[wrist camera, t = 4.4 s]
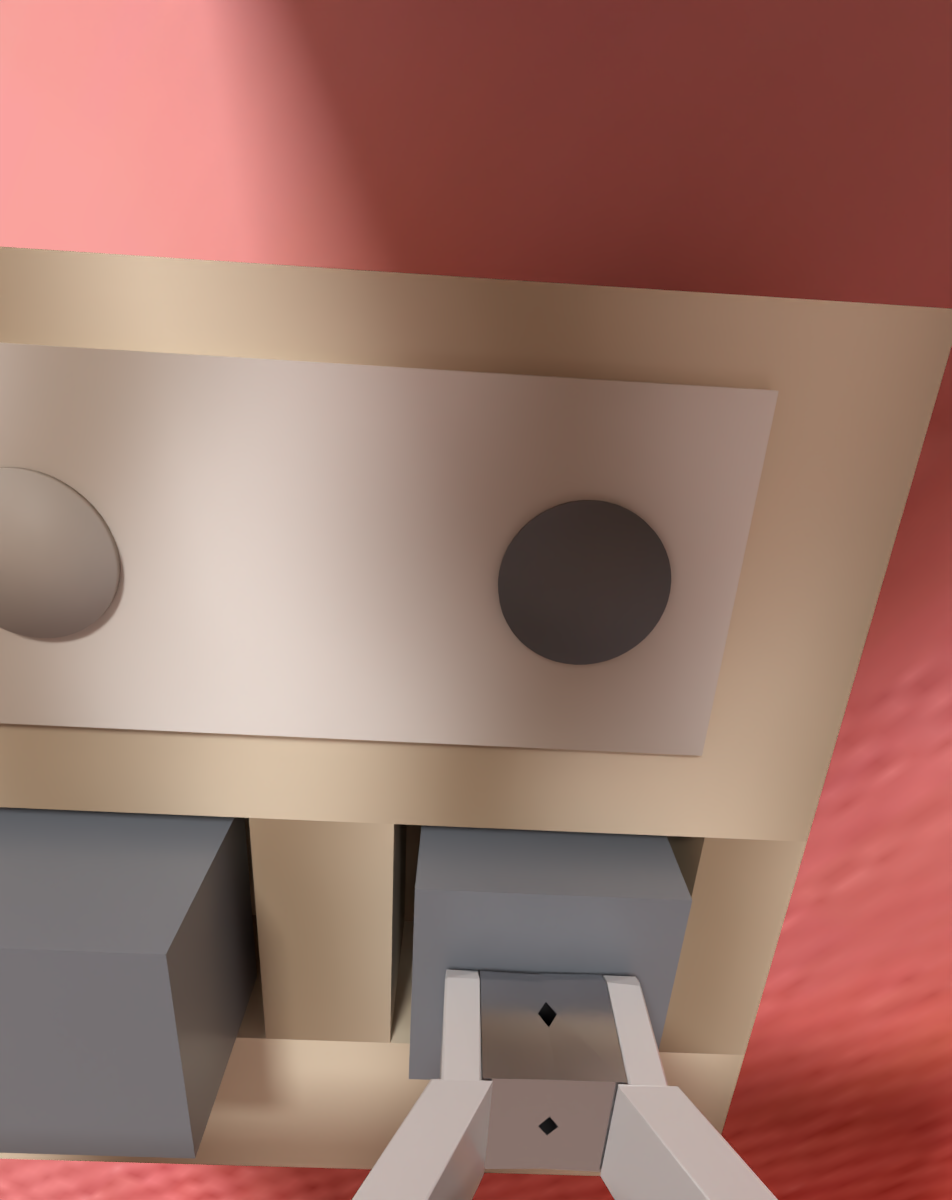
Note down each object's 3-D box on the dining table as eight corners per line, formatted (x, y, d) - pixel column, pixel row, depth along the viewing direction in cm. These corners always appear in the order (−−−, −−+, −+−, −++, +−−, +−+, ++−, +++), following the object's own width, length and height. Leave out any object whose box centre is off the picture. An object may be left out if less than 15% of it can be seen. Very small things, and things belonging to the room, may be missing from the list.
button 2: (642, 775, 12) (692, 900, 10) (614, 937, 14) (650, 1087, 11) (428, 765, 12) (415, 889, 10) (421, 928, 14) (408, 1078, 11)
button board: (815, 319, 11) (981, 308, 7) (661, 1015, 17) (713, 1198, 13) (-584, 229, 10) (-1142, 169, 7) (-246, 982, 16) (-452, 1165, 12)
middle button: (242, 800, 11) (165, 954, 8) (257, 976, 13) (195, 1158, 10) (-3, 789, 11) (-164, 942, 8) (40, 968, 12) (-85, 1149, 10)
